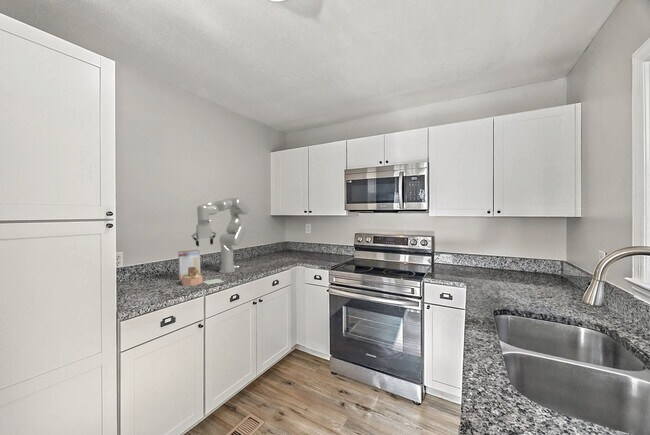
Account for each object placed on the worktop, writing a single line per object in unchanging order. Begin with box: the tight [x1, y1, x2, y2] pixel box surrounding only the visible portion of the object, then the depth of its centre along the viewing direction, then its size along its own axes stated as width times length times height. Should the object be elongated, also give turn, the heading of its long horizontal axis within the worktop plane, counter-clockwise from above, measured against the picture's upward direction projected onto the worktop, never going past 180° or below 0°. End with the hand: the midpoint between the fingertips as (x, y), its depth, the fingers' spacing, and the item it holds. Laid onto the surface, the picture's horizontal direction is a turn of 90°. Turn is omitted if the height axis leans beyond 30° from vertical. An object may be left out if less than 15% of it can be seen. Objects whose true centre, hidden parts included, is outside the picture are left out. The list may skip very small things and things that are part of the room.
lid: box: [183, 267, 203, 279], centre depth 186 cm, size 12×12×6 cm
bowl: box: [181, 275, 203, 287], centre depth 186 cm, size 12×12×5 cm
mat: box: [202, 278, 225, 285], centre depth 190 cm, size 11×11×1 cm
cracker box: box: [177, 249, 201, 281], centre depth 201 cm, size 14×6×21 cm, turn 129°
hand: (204, 245), depth 197 cm, fingers open, 9 cm apart
